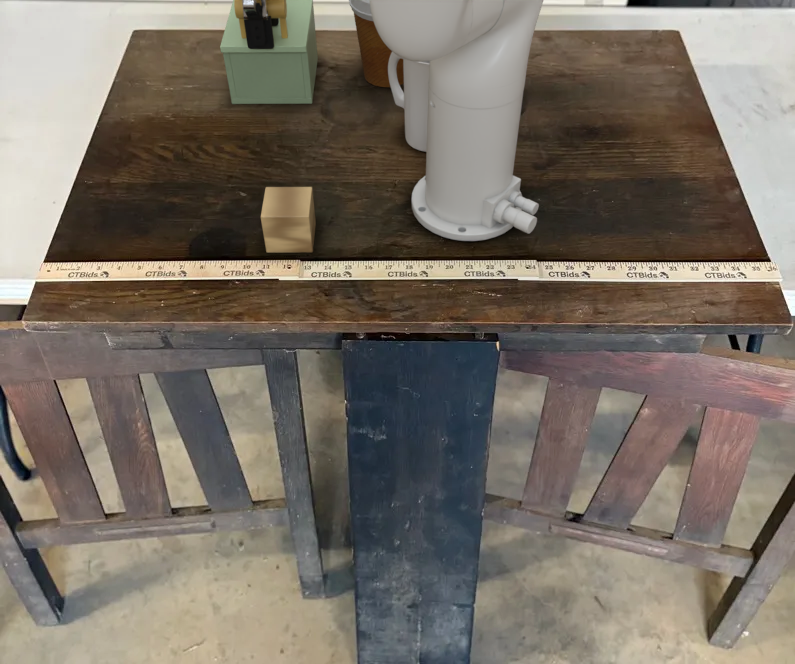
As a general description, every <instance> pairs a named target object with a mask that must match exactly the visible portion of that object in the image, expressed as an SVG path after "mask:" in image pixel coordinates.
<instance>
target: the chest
mask: <svg viewBox="0 0 795 664" xmlns="http://www.w3.org/2000/svg"><path fill="white" fill-rule="evenodd" d="M317 44H318V43H317V31H316V20H315V10H314V7H313V9H312V16H311V23H310V30H309V38H308V45H307V52H236V53H222V56H223V61H224V67H225V72H226V78H227V79H226V80H227V84H228V89H229V95H230V101H231V104H232V105H271V104H272V105H276V104H277V105H281V104H282V105H285V104H286V105H288V104H289V105H290V104H291V105H293V104H294V105H295V104H297V105H299V104H301V105H303V104H307V105H308V104H309V105H311V104H313V101H314V91H315V83H316V75H317V67H318V60H319V59H318V58H319V56H318V45H317Z"/></svg>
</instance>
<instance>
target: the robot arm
mask: <svg viewBox="0 0 795 664" xmlns="http://www.w3.org/2000/svg"><path fill="white" fill-rule="evenodd" d="M543 3H544V0H370V8H371V14H372V18H373V21H374V24H375V27H376V29H377V32H378V34H379V36H380V37H381V39H382V40H383V42H384V43H385V44H386V46H387V47H388V48H389V49H390V50H391V51H392V52H394V53H395V54H396V55H398V56H400V57H402V58H404V59H407V60H410V61H416V62H425V61H430V65H429V82H428V115H427V150H426V152H425V153H426V154H425V155H426V156H425V175H423V177H422V178H420V179H419V180H418V181H417V182H416V184H415V185H414V187H413V189H412V193H411V202H410V203H411V211H412V213H413V216H414V217H415V219H416V220H417V222H418V223H419V224H421V225H422V227H423V228H425V229H427V230H428V231H430V232H431V233H433V234H435V235H437V236H440V237H443V238H445V239H450V240H452V241H459V242H478V241H486V240H490V239H493V238H497V237H499V236H501V235H504V234H505V233H506V232H508V231H510V230H511V229H512V228H513V227H514V228H515V229H517V230H520V231H521V232H523V233H526V234H531V233H532V232H533V231H534V230H535V227H536V226H537V223H538V218H537V217H536V216H534V215H535V214H536V213H537V212H538V210H539V207H540V204H539V203H538V202H536V201H534V200H532V199H530V198H526V197H524V196H523V194H522V192H521V190H520V189H521V182H522V179H521V178H520V177H518V176H516V175H514V167H515V161H516V160H515V159H516V154H517V153H516V152H517V145H518V137H519V130H520V129H519V128H520V122H521V121H520V120H521V114H522V105H523V99H524V98H523V97H524V90H525V85H526V78H527V77H526V76H527V71H528V64H529V58H530V57H529V56H530V51H531V46H532V42H533V38H534V33H535V29H536V27H537V23H538V19H539V16H540V13H541V9H542V7H543ZM242 5H243V15H244V17H243V18H244V25H245V32H246V38H247V45H248V48H249V49H273V48H274V38H273V30H272V26H277V25H278V23H279V19H278V18H271V16H268V8H267V0H261V5H260V3H256V0H242Z"/></svg>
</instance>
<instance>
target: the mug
mask: <svg viewBox="0 0 795 664" xmlns="http://www.w3.org/2000/svg"><path fill="white" fill-rule="evenodd" d="M399 59H403V67H404V83H403V89H402V87H401V85H399V83H398V79H397V73H396V67H397V63H398V61H399ZM429 65H430V61H425V62H416V61H410V60H407V59H404V58H402V57H400V56H398V55H396V54H395V53H394V52H392V53H391V55H390V58H389V62H388V77H389V82H390V86H391V87H390V90H391V93H392V97H393V101H394V104H395V105H396V106H397V107H400V108H402V109H403V110H404V137H405V141H406V143H407V144H408V145H409V146H410V147H412V148H413V149H414V150H417V151H421V152H425V153H426V150H427V115H428V82H429Z"/></svg>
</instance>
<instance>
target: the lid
mask: <svg viewBox="0 0 795 664" xmlns="http://www.w3.org/2000/svg"><path fill="white" fill-rule="evenodd" d="M256 3H260V5H261V0H256ZM267 8H268V16H271V18H278V19H279V23H278V25H277V26H272V30H273V38H274V48H273V49H249V48H248V45H247V38H246V32H245V25H244V18H243V17H244V15H243V5H242V0H232V2H231V7H230V11H229V14H228V18H227V21H226V25H225V27H224V32H223V34H222V39H221V41H220V46H219V48H220V53H222V54H223V53H236V52H307V45H308V38H309V30H310V23H311V16H312V9H313V8H314V0H267Z"/></svg>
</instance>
